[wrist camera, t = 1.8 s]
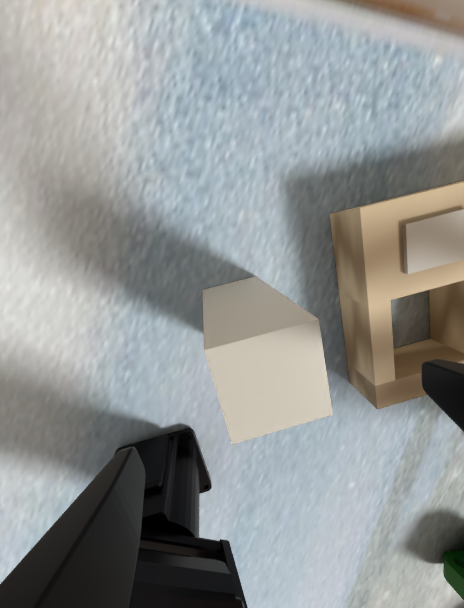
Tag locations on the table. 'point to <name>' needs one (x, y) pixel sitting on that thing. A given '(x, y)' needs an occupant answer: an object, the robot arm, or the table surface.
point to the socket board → (400, 286)
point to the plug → (263, 359)
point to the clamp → (455, 570)
